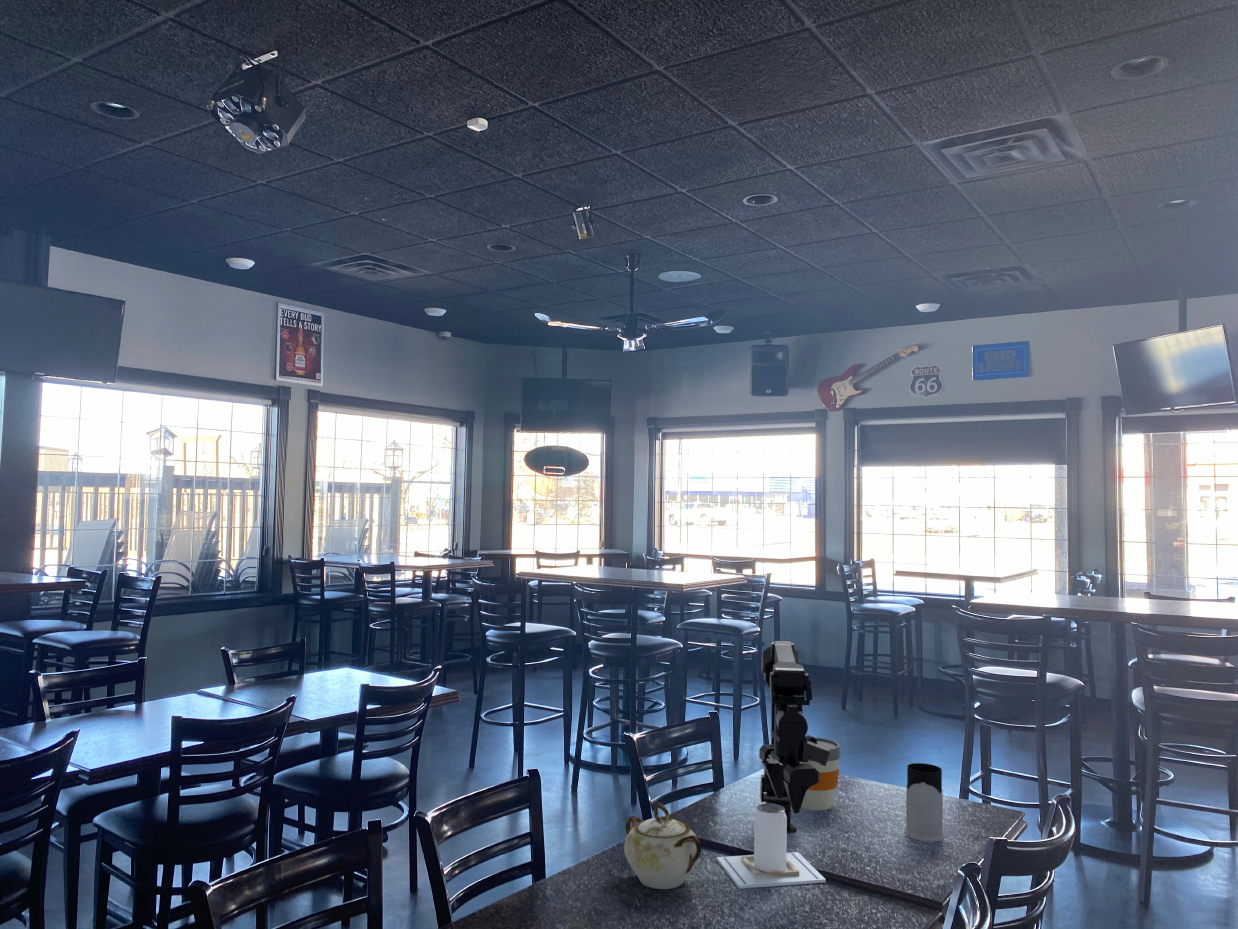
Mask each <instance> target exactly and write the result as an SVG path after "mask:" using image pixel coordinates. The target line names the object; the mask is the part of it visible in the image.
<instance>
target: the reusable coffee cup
mask: <svg viewBox="0 0 1238 929" xmlns="http://www.w3.org/2000/svg"><path fill="white" fill-rule="evenodd" d="M813 737H814V738H816V739H817V744H820V745H821V746H823V747H825V748H826V749H828V750H829V751H830V755H829V757H828V760H827V763H826V766H823V765H821V764H820V763H818V762H815V761H812V760H809V759H808V762H800V763H799V764H805V763H809V764H810V765H811V766H813V767H814V768H815V769H816V770H817V771H818V772H819V773H820V776H819V783H816V784H815V785H814V786H811V787H810V788H808V789H807V791H806V794H805V796H804V799H803V803H802V806H801V808H803V809H805V808H806V810H811V811H825V810H830V809H832V808H833V806H834V797H835V792H836V791H835V790H836V789H837V786H838V781H839V774H840V767H839V763H840V762H839V761H840V758H841V748H840V744H839V743H838V741H835V740H833V739H829V738H825V737H816V736H813Z"/></svg>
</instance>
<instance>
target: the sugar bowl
mask: <svg viewBox="0 0 1238 929" xmlns="http://www.w3.org/2000/svg"><path fill="white" fill-rule="evenodd" d="M658 809H660V810H661V811H662V812H663V813H664V816H663V815H661V816H660V815H659V811H658ZM653 815H654V817H653V818H649V819H646V820H643V819H642V818H639V817H638V816H635V815H630V816H628V817H627V819H626V821H625V825H624V827H625V828H624V829H625V832H626V834H627V836H626V837H625V840H624V844H623V850H624V851H623V852H624V856H625V858H626V860H627V862H628V865H629V866H630V868H631V869H632V871H633V872H634V874H635V875H636V876H637V878H638V879H639V881H640V883H641V884H642V885H643V886H645V887H648V888H650V889H656V890H671V889H675V888H678V887H680V886H682V885H683V883H684V882H685V880H686V879H687V877H688V876H689V875H690V873H691V872H692V871H693V870H694V868H695V867H696V864H697V863H698V861H699V858H700V855H701V852H702V845H701V842H700V840H699V838H698V837H697V835H696V834H695V832H694V831H693V830H692V829H691V828H690V826H689V825H687V824H686V823H685V822H682V821H681V820H680V821H679V820H676V819H673V818H671V817H670V813H669V810H668V809H667V808H666V807H665V805H664V804H663V803H661V802H658V803H656V804H655V805H654V807H653Z"/></svg>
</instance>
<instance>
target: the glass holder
mask: <svg viewBox="0 0 1238 929" xmlns="http://www.w3.org/2000/svg"><path fill="white" fill-rule="evenodd" d="M906 768H907V769H906V772H907V773H906V774H907V775H906V781H907V783H906V788H905V790H906V791H905V792H906V793H905V794H906V796H905V797H906V801H905V804H906V805H905V808H906V810H905V812H906V813H905V814H906V816H905V817H906V818H905V822H906V825H905V829H904V831H903V834H904V835H905V834H906V835H907V837H908V838H910V839H912V838H913V840H915V839H917V840H916V841H920V842H926V841H928V843H935V842H934V841H937V842H941V841H943V840H945V834H944V831H943V827H944V826H943V821H944V820H943V819H944V818H943V812H944V811H943V810H944V809H943V808H944V807H943V806H944V805H943V802H944V801H943V793H944V792H943V791H944V790H943V787H942V786H943V771H942V770H943V769H942V768H941V767H939V766H937V765H934V764H929V763H925V762H924V763H922V762H917V763H916V762H913V763H909V764H908V765H907V767H906ZM906 835H905V836H906Z"/></svg>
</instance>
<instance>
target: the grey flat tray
mask: <svg viewBox="0 0 1238 929" xmlns="http://www.w3.org/2000/svg"><path fill="white" fill-rule="evenodd" d="M745 856H754V854H746V855H732V856H717V857H716V861H717V862H718V864H719V865H720V867H721V868H722V869H723V870H724V872H725V873H726V874H727V875H728V877H729V878H730V879H731V880H732V882H733V883H734V884H735V886H736V887H737V888H738V889H741V890H742V889H754V888H766V887H781V886H796V885H805V884H806V885H807V884H811V885H812V884H820V883H821V884H822V883H825V884H826V878H825V877H824V876H823V875H822V874H821V873H820V872H819V871H818V870H817V869H816V868H815V867H814V866H813V865H812V864H811V863H810V862H809V861H808V860H806V859H805V857H804V856H803V855H801V853H799V851H794V852H786V858H787V859H788V860H789V861H790V862H791V863H792V865H793V866H794V867H795V868H796V869H797V870H798V871H799V876H787V877H773V878H759V879H756V877H755V876H754V875H753V874H752V873H751V872H750V870H749V869H748V868H747V867H746V866H745V864H744V863H743V862H742V861H741V857H745ZM750 863H751V865H752V866H753V867H754V868H755V869H756V870H757V871H758V873H764V872H761V871H759V870H758V869H757V868H756V867H755V865H754V861H750ZM784 871H791V870H790V869H789V868H788V867H787V866H786V869H785V870H784Z"/></svg>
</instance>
